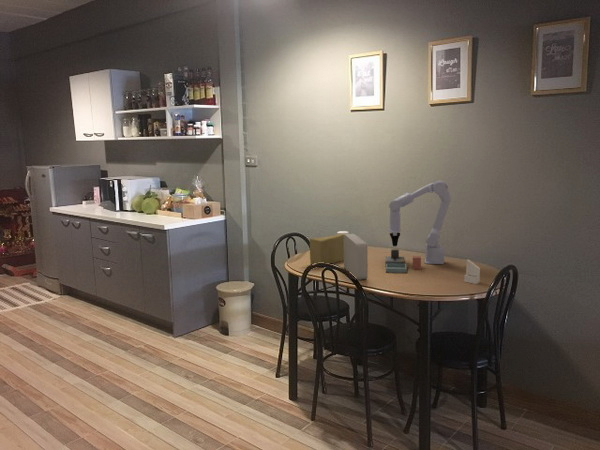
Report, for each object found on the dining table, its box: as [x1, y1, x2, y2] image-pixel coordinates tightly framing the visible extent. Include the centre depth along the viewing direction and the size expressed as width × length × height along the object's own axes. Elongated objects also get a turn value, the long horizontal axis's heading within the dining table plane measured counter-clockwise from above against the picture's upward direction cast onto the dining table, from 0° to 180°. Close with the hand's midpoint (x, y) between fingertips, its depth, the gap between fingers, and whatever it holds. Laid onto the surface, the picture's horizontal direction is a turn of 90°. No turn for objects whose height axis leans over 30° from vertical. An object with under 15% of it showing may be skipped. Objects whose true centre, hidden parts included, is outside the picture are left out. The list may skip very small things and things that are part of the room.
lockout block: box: [412, 255, 422, 270], centre depth 261 cm, size 4×4×6 cm
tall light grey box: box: [343, 233, 369, 281], centre depth 254 cm, size 29×8×18 cm, turn 8°
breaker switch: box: [390, 248, 400, 258], centre depth 272 cm, size 4×3×4 cm
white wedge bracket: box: [463, 258, 481, 285], centre depth 235 cm, size 4×10×9 cm
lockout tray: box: [385, 263, 408, 274], centre depth 259 cm, size 10×10×2 cm
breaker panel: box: [384, 256, 406, 268], centre depth 270 cm, size 10×11×4 cm
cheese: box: [309, 234, 344, 265], centre depth 276 cm, size 22×10×15 cm, turn 126°
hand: (394, 246), depth 277 cm, fingers closed
